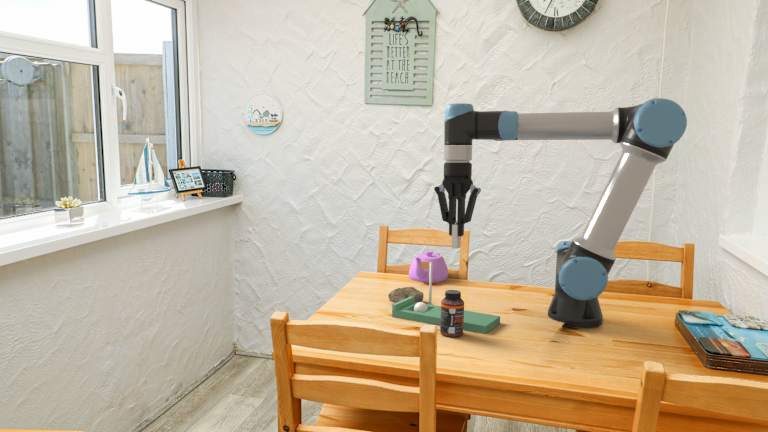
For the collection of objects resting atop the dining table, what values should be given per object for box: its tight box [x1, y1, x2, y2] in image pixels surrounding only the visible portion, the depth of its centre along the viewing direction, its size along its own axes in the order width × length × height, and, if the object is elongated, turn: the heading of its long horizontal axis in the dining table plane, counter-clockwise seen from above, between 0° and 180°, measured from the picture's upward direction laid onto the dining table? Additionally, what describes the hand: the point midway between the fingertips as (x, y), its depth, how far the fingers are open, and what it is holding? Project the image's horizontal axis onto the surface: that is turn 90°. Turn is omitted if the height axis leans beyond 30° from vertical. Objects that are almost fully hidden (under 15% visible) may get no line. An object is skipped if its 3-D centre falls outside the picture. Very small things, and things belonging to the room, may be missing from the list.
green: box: [391, 296, 501, 335], centre depth 165 cm, size 28×11×4 cm, turn 59°
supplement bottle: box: [439, 289, 465, 338], centre depth 152 cm, size 6×6×11 cm
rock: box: [388, 286, 425, 304], centre depth 181 cm, size 8×11×4 cm
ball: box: [414, 301, 428, 313], centre depth 168 cm, size 4×4×4 cm
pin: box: [421, 261, 433, 305], centre depth 174 cm, size 5×3×14 cm, turn 59°
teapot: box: [408, 250, 449, 284], centre depth 210 cm, size 13×20×11 cm
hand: (456, 247), depth 162 cm, fingers closed
